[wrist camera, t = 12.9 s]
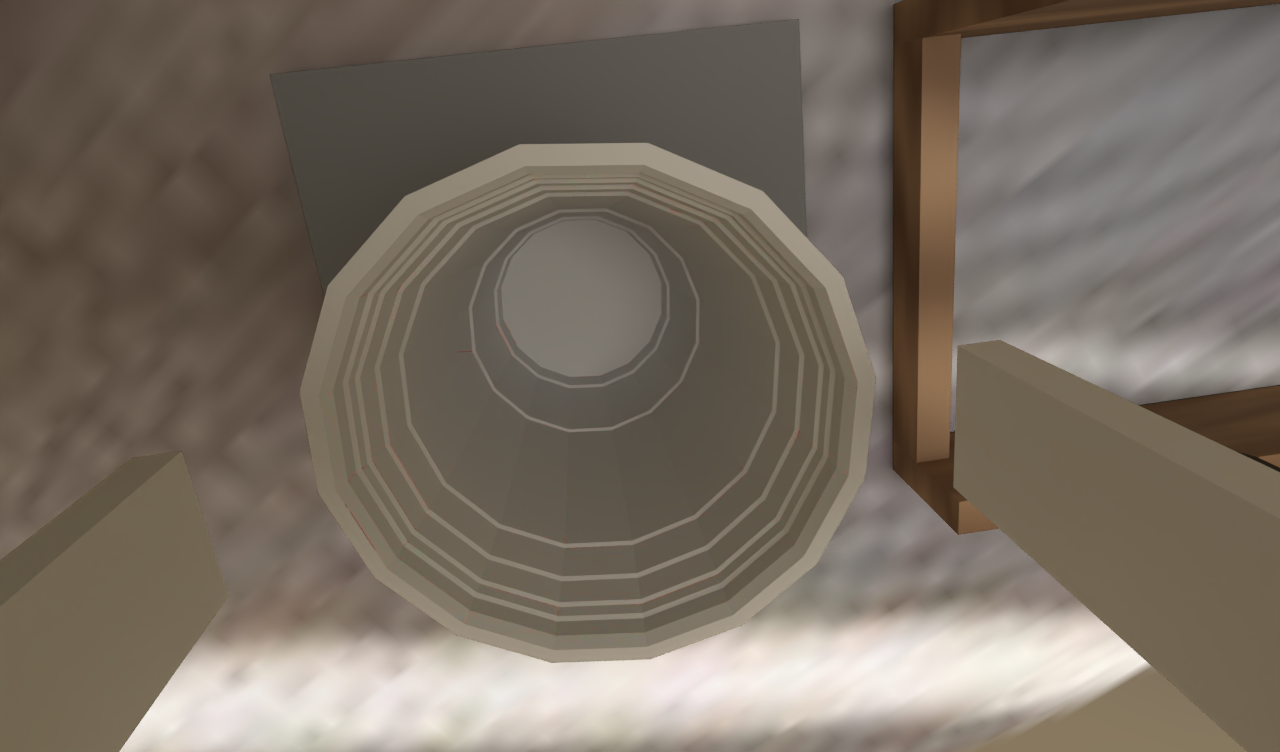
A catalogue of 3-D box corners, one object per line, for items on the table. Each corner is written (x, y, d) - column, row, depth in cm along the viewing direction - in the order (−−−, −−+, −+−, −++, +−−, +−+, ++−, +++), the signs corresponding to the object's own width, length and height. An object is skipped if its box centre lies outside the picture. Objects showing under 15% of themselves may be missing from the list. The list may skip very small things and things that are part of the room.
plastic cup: (339, 265, 24) (146, 386, 13) (616, 61, 23) (675, -6, 12) (544, 507, 27) (536, 772, 16) (792, 338, 26) (971, 494, 15)
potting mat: (276, 75, 23) (269, 74, 22) (793, 21, 24) (799, 18, 23) (389, 538, 28) (385, 546, 27) (810, 476, 29) (815, 483, 28)
